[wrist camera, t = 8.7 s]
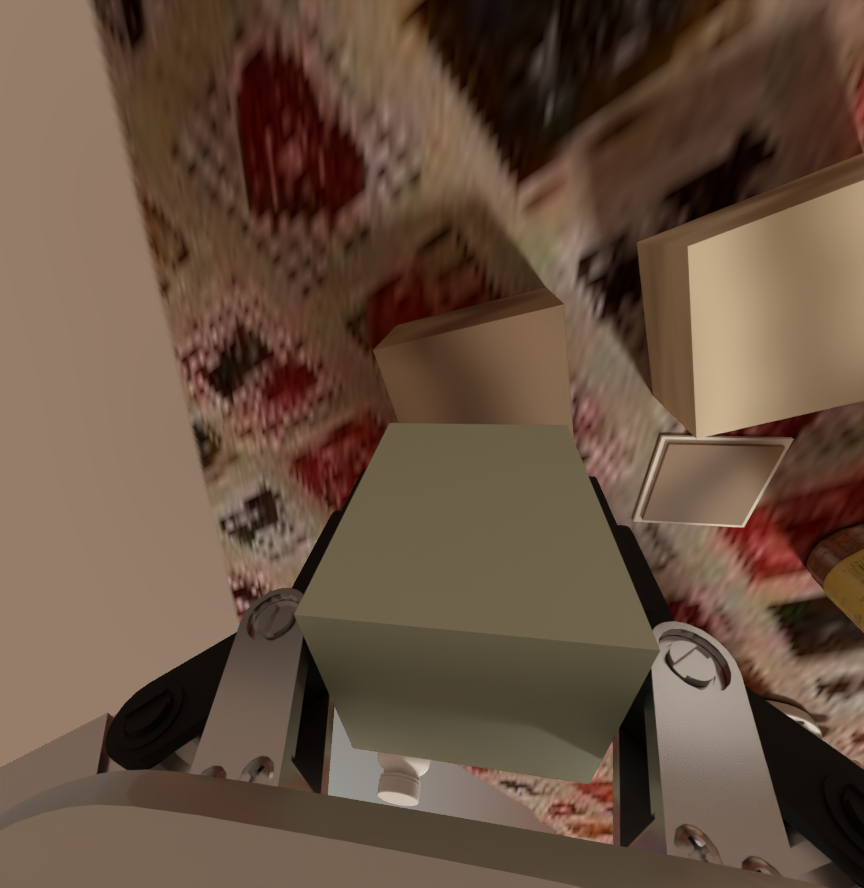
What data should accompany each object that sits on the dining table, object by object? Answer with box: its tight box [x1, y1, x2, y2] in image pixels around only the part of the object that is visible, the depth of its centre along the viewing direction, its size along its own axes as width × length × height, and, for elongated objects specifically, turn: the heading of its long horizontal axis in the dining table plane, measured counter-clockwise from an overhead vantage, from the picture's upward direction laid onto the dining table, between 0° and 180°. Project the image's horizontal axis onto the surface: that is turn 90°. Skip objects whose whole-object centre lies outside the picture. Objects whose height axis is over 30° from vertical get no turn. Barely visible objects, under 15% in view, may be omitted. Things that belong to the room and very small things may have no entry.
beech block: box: [637, 153, 864, 439], centre depth 14 cm, size 8×8×5 cm
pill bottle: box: [377, 752, 430, 806], centre depth 37 cm, size 6×5×10 cm
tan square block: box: [373, 287, 574, 440], centre depth 18 cm, size 8×8×5 cm
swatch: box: [633, 435, 793, 527], centre depth 22 cm, size 7×7×1 cm
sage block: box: [294, 423, 660, 784], centre depth 9 cm, size 5×5×6 cm
